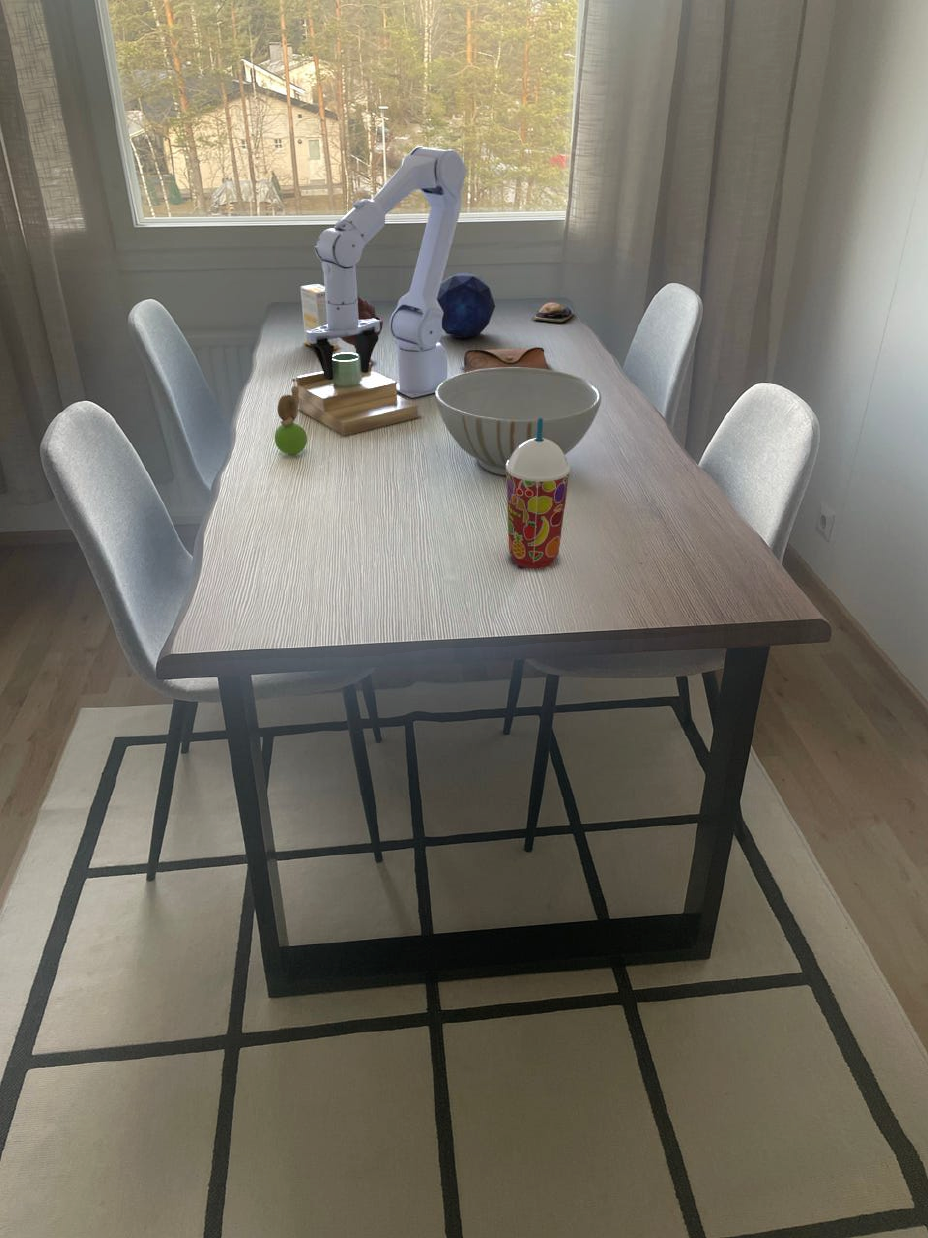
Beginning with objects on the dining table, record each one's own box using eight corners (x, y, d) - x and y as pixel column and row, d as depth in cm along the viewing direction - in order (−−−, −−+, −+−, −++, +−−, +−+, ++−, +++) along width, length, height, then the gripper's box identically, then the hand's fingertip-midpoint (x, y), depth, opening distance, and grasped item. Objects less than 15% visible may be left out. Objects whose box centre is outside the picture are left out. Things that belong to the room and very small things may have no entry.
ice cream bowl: (378, 372, 197) (374, 300, 189) (328, 369, 199) (322, 297, 191) (391, 358, 205) (388, 288, 197) (343, 355, 207) (338, 286, 199)
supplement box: (339, 348, 212) (335, 289, 205) (320, 352, 209) (315, 292, 202) (323, 340, 217) (318, 282, 211) (304, 343, 215) (299, 285, 208)
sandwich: (562, 324, 231) (563, 309, 229) (530, 320, 234) (531, 305, 232) (575, 314, 239) (576, 299, 237) (544, 310, 242) (545, 296, 240)
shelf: (418, 417, 173) (417, 383, 170) (344, 435, 165) (342, 400, 162) (370, 393, 185) (368, 361, 181) (299, 409, 177) (296, 376, 173)
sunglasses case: (470, 376, 193) (467, 344, 193) (465, 384, 200) (462, 353, 200) (553, 372, 196) (551, 340, 195) (545, 380, 203) (543, 349, 202)
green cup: (352, 376, 178) (350, 350, 175) (367, 384, 174) (365, 357, 172) (327, 382, 175) (325, 355, 173) (341, 389, 172) (340, 362, 169)
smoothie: (499, 546, 129) (503, 408, 119) (558, 544, 130) (567, 406, 119) (506, 575, 122) (511, 431, 112) (568, 573, 123) (579, 430, 112)
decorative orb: (516, 311, 220) (484, 254, 217) (483, 325, 209) (450, 265, 207) (475, 341, 229) (444, 286, 227) (442, 355, 219) (409, 298, 216)
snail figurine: (316, 447, 160) (310, 379, 154) (299, 461, 155) (292, 391, 149) (288, 443, 162) (281, 376, 156) (270, 456, 157) (262, 387, 150)
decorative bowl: (483, 508, 140) (484, 432, 134) (410, 448, 160) (408, 380, 154) (627, 475, 151) (635, 404, 144) (541, 424, 171) (545, 359, 164)
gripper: (317, 311, 160) (323, 387, 168) (387, 299, 168) (390, 373, 175) (297, 303, 165) (304, 378, 172) (366, 292, 172) (370, 364, 180)
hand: (346, 375), depth 174 cm, fingers open, 7 cm apart
